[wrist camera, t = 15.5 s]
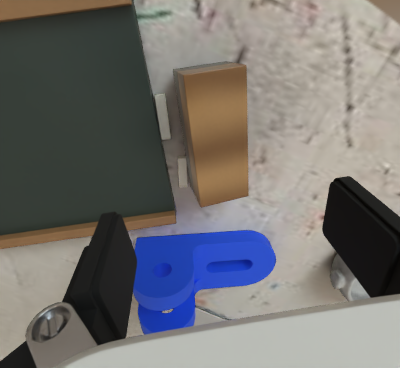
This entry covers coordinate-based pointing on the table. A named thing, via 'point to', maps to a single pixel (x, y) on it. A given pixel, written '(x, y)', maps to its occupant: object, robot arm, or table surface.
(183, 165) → the off-white bar
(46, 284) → the table surface
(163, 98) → the chalk stroke
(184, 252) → the bracket
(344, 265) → the dish
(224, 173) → the eraser
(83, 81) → the slate board
